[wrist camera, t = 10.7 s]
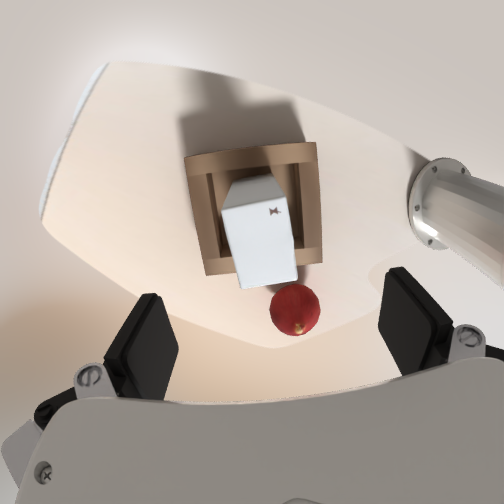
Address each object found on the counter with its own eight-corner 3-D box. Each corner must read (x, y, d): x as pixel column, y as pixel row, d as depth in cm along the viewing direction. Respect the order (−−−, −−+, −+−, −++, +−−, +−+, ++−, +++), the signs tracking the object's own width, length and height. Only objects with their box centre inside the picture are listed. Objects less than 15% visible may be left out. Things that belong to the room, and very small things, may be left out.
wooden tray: (306, 141, 27) (315, 142, 22) (313, 246, 31) (322, 262, 27) (193, 155, 27) (183, 157, 23) (211, 257, 32) (206, 275, 28)
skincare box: (231, 179, 27) (218, 206, 16) (272, 172, 27) (288, 193, 16) (243, 234, 30) (239, 291, 19) (282, 226, 29) (300, 281, 18)
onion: (315, 306, 35) (329, 346, 27) (273, 315, 35) (277, 358, 28) (310, 267, 32) (325, 305, 25) (263, 278, 33) (267, 317, 26)
